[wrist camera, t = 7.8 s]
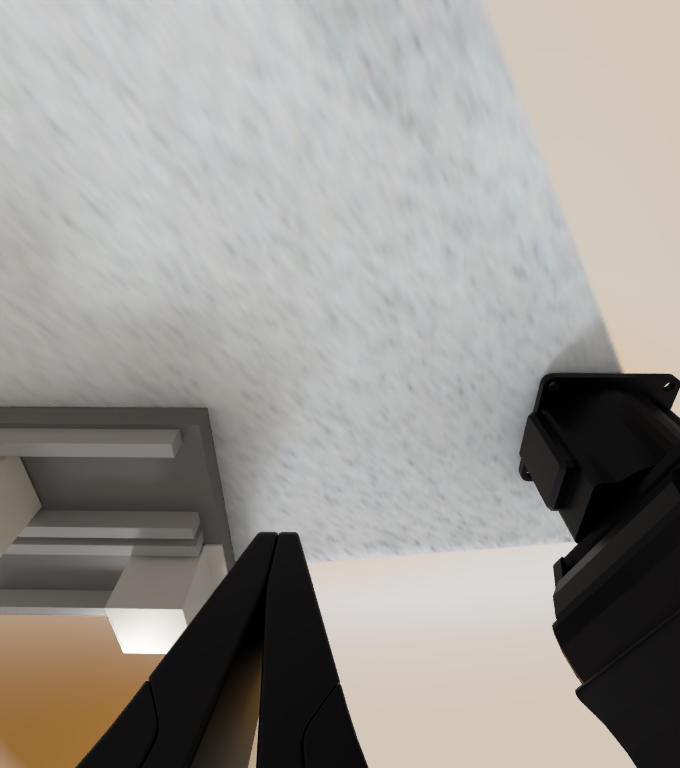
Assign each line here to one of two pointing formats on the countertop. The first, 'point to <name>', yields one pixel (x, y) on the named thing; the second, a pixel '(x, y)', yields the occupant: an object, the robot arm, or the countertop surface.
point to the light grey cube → (158, 600)
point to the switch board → (108, 501)
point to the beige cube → (15, 500)
